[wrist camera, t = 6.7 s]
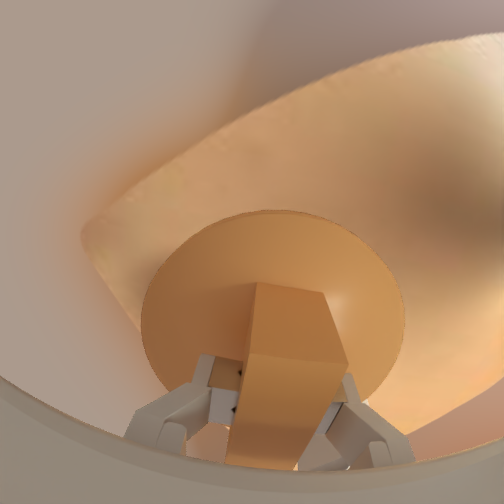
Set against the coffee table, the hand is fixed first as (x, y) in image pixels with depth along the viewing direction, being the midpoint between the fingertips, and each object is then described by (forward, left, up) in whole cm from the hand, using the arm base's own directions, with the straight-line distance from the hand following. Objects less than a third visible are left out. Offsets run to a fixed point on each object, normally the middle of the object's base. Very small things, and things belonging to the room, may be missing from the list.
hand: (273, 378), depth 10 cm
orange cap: (0, 0, -4) cm, 4 cm away
